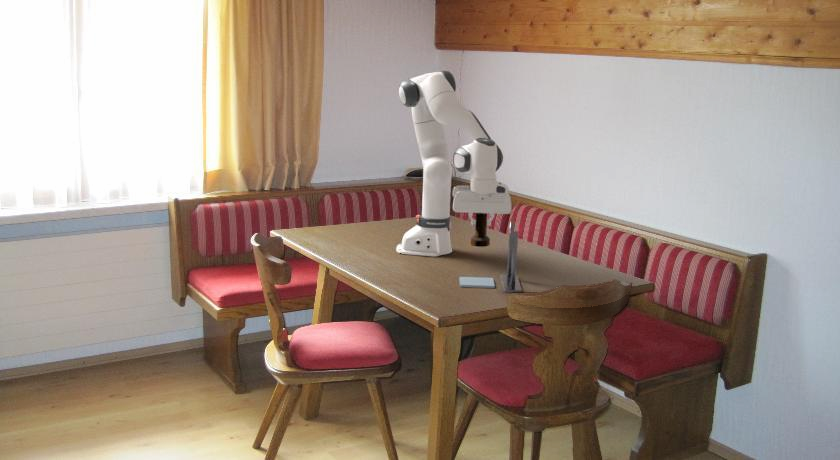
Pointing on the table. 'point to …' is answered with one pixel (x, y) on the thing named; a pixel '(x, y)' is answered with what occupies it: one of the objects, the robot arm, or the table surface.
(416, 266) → the table surface
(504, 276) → the retort stand
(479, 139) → the robot arm
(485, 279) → the mat
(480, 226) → the wooden turned spindle
